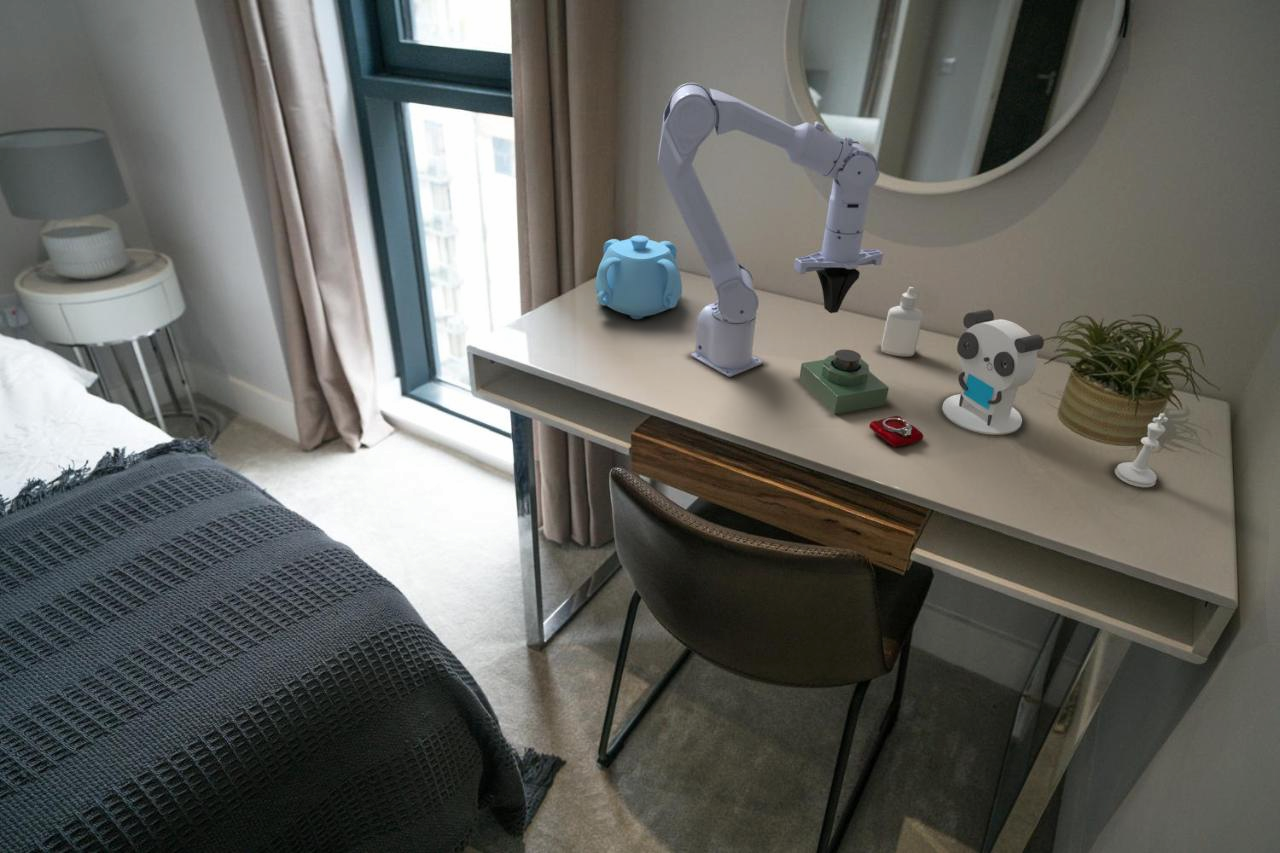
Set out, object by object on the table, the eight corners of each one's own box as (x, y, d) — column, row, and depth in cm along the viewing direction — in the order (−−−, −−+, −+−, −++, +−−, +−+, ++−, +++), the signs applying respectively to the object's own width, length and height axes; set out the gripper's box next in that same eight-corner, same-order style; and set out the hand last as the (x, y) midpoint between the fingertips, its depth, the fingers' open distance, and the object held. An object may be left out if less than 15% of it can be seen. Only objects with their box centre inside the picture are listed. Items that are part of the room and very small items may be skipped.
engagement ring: (893, 452, 111) (897, 435, 109) (865, 431, 115) (868, 415, 113) (924, 442, 113) (928, 426, 111) (895, 422, 117) (899, 406, 116)
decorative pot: (587, 320, 145) (585, 249, 138) (604, 286, 159) (604, 220, 151) (674, 328, 143) (678, 256, 136) (684, 293, 157) (688, 226, 149)
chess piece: (1107, 466, 109) (1133, 404, 103) (1140, 465, 109) (1168, 403, 104) (1128, 488, 105) (1156, 425, 99) (1163, 487, 105) (1193, 423, 100)
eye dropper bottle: (905, 361, 134) (920, 296, 127) (876, 350, 137) (889, 286, 130) (918, 353, 136) (933, 288, 130) (888, 342, 140) (902, 279, 133)
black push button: (827, 362, 123) (829, 351, 122) (849, 359, 124) (852, 347, 123) (841, 374, 120) (843, 362, 119) (863, 371, 121) (866, 359, 120)
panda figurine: (923, 401, 123) (945, 313, 114) (979, 388, 126) (1004, 301, 118) (979, 441, 113) (1007, 348, 105) (1038, 425, 117) (1069, 334, 109)
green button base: (798, 380, 128) (802, 352, 125) (847, 372, 130) (852, 345, 127) (834, 414, 119) (839, 385, 116) (885, 405, 121) (891, 377, 119)
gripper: (815, 241, 114) (803, 326, 122) (900, 232, 118) (883, 314, 126) (792, 226, 120) (782, 308, 127) (874, 217, 124) (859, 297, 131)
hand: (831, 310), depth 127 cm, fingers closed
